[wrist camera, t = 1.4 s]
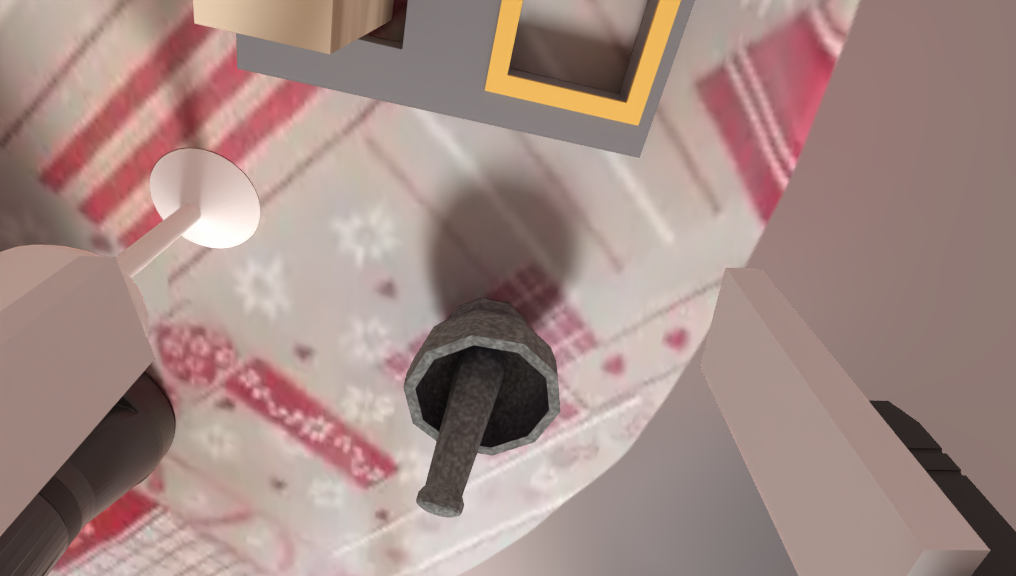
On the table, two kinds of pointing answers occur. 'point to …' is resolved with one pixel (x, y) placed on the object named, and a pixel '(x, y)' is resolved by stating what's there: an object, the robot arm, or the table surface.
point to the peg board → (487, 72)
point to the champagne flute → (185, 212)
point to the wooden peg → (297, 20)
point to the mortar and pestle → (478, 394)
